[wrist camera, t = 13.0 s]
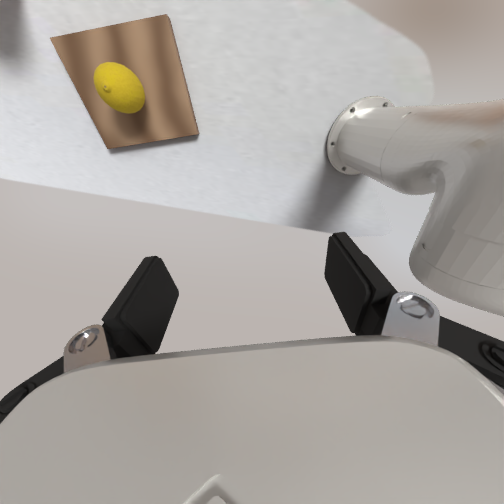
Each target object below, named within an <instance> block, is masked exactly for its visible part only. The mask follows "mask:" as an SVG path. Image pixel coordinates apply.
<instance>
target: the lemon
mask: <svg viewBox="0 0 504 504" xmlns="http://www.w3.org/2000/svg"><path fill="white" fill-rule="evenodd" d="M93 78H94V85H95V88H96V90H97V92H98V94H99V96H100V97H101V99H102V100H103V101H104V102H105V103H106V104H107V105H109V106H110V107H111V108H113V109H115V110H117V111H119V112H122V113H128V114H129V113H135V112H137V111H139V110H140V109H141V108H142V107H143V105H144V102H145V92H144V88H143V86H142V84H141V82H140V80H139V79H138V77H137V76H136V75H135V74H134V73H133V72H132V71H131V70H130V69H128V68H127V67H125V66H124V65H121V64H118V63H115V62H106V63H103V64H100V65H99V66H98V67H97V68H96V70H95V72H94V77H93Z"/></svg>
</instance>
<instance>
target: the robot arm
mask: <svg viewBox="0 0 504 504" xmlns="http://www.w3.org/2000/svg"><path fill="white" fill-rule="evenodd" d="M383 104H384V105H383ZM350 109H351V112H350ZM331 143H332V145H331ZM327 154H328V158H329V161H330V163H331V164H332V166H333V167H334V168H335V169H337V170H338V171H340V172H341V173H344V174H348V175H356V174H361V173H363V174H365V175H366V176H368V177H370V178H372V179H374V180H376V181H378V182H380V183H382V184H384V185H386V186H387V187H389V188H392V189H394V190H396V191H398V192H400V193H403V194H408V195H424V194H429V193H434V192H435V195H434V198H433V200H432V203H431V205H430V207H429V212H428V214H427V216H426V219H425V221H424V223H423V225H422V227H421V229H420V232H419V234H418V236H417V238H416V241H415V243H414V245H413V248H412V251H411V254H410V257H409V266H410V269H411V271H412V273H413V275H414V276H415V277H416V279H417V280H418V281H420V282H421V283H422V284H423V285H425V286H426V287H428V288H429V289H431V290H433V291H434V292H436V293H438V294H440V295H442V296H445V297H447V298H449V299H452V300H454V301H457V302H459V303H462V304H465V305H468V306H471V307H474V308H477V309H481V310H484V311H487V312H490V313H493V314H497V315H500V316H503V317H504V99H500V100H493V101H487V102H477V103H467V104H449V105H433V106H406V107H395V106H394V104H393V103H392V102H391V101H390V100H388V99H386V98H384V97H380V96H370V97H365V98H362V99H359V100H357V101H355V102H354V103H352V104H350V105H349V106H348V107H347V108H346V109H345V110H343V112H342V113H341V114H340V115H339V116H338V118H337V119H336V121H335V122H334V124H333V126H332V128H331V130H330V133H329V136H328V141H327ZM342 168H343V169H342ZM325 279H326V281H327V283H328V285H329V287H330V290H331V292H332V294H333V296H334V298H335V300H336V302H337V304H338V306H339V309H340V311H341V313H342V315H343V317H344V319H345V321H346V323H347V325H348V327H349V329H350V331H351V332H352V333H355V334H356V336H346V337H333V338H319V339H308V340H297V341H287V342H275V343H264V344H253V345H243V346H232V347H222V348H212V349H201V350H191V351H181V352H172V353H161V354H155V352H157V351H158V350H159V348H160V345H161V342H162V339H163V337H164V334H165V331H166V329H167V326H168V323H169V321H170V318H171V315H172V312H173V310H174V307H175V304H176V301H177V299H178V296H179V291H178V289H177V287H176V285H175V283H174V281H173V279H172V278H171V276H170V274H169V272H168V270H167V268H166V266H165V264H164V263H163V261H162V259H161V258H158V257H157V256H151V257H145V258H144V259H143V261H142V262H141V264H140V265H139V266H138V268H137V269H136V271H135V272H134V274H133V275H132V277H131V278H130V279H129V281H128V282H127V284H126V285H125V286H124V288H123V289H122V291H121V292H120V294H119V295H118V297H117V298H116V299H115V301H114V302H113V304H112V305H111V307H110V308H109V309H108V311H107V312H106V314H105V315H104V317H103V318H102V321H104V324H103V325H102V326H101V325H91V326H88V327H86V328H84V329H82V330H81V331H79V332H78V333H77V334H75V335H74V336H73V337H72V338H71V339H70V340H69V342H68V343H67V345H66V346H65V349H64V356H63V357H61V358H60V359H58V360H57V361H55V362H54V363H52V364H51V365H49V366H47V367H46V368H44V369H43V370H41V371H40V372H38V373H37V374H35V375H34V376H32V377H31V378H29V379H28V380H26V381H25V382H23V383H22V384H20V385H19V386H17V387H16V388H14V389H13V390H12V391H10V392H9V393H8V394H7V395H6V396H5V397H4V398H3V399H2V400H1V401H0V504H504V342H503V341H501V340H498V339H496V338H493V337H491V336H488V335H486V334H483V333H481V332H479V331H476V330H474V329H471V328H469V327H466V326H464V325H461V324H459V323H456V322H454V321H451V320H449V319H447V318H444V317H442V316H440V314H439V310H438V308H437V307H436V305H435V304H433V303H432V302H431V301H430V300H429V299H427V298H425V297H424V296H421V295H419V294H416V293H412V292H397V291H396V289H395V288H394V287H393V286H392V285H391V283H390V282H389V281H388V280H387V279H386V278H385V276H384V275H383V274H382V273H381V272H380V270H379V269H378V268H377V267H376V266H375V265H374V263H373V262H372V261H371V260H370V259H369V257H368V256H367V255H365V254H363V253H362V251H361V250H360V249H359V248H358V247H357V246H356V244H355V243H354V242H353V241H352V239H351V238H350V237H349V236H348V235H347V233H346V232H339V233H333V235H332V236H330V237H329V241H328V249H327V257H326V266H325Z"/></svg>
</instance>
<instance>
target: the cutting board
mask: <svg viewBox="0 0 504 504" xmlns="http://www.w3.org/2000/svg"><path fill="white" fill-rule="evenodd" d="M50 39H51V41H52V43H53V45H54V47H55V49H56V51H57V53H58V55H59V57H60V59H61V61H62V62H63V64H64V66H65V68H66V70H67V72H68V74H69V76H70V78H71V80H72V82H73V84H74V85H75V87H76V89H77V91H78V93H79V95H80V97H81V99H82V101H83V103H84V105H85V107H86V109H87V110H88V112H89V114H90V116H91V118H92V120H93V122H94V124H95V126H96V128H97V130H98V132H99V133H100V135H101V137H102V139H103V141H104V143H105V145H106V147H107V149H111V148H117V147H123V146H129V145H135V144H142V143H148V142H154V141H160V140H166V139H172V138H178V137H184V136H190V135H196V134H199V131H198V127H197V123H196V119H195V115H194V111H193V107H192V103H191V99H190V95H189V91H188V88H187V84H186V80H185V76H184V72H183V68H182V64H181V60H180V56H179V52H178V48H177V45H176V41H175V37H174V33H173V29H172V25H171V21H170V18H169V17H168V16H167V14H165V15H160V16H155V17H150V18H145V19H140V20H135V21H130V22H126V23H121V24H116V25H111V26H106V27H101V28H96V29H91V30H86V31H81V32H77V33H72V34H67V35H62V36H57V37H52V38H50ZM106 62H115V63H118V64H121V65H124V66H125V67H127V68H128V69H130V70H131V71H132V72H133V73H134V74H135V75H136V76H137V77H138V79H139V80H140V82H141V84H142V86H143V88H144V92H145V102H144V105H143V107H142V108H141V109H140V110H139V111H137V112H135V113H129V114H128V113H122V112H119V111H117V110H115V109H113V108H111V107H110V106H109V105H107V104H106V103H105V102H104V101H103V100H102V99H101V97H100V96H99V94H98V92H97V90H96V88H95V85H94V78H93V77H94V72H95V70H96V68H97V67H98V66H99V65H100V64H103V63H106Z"/></svg>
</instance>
